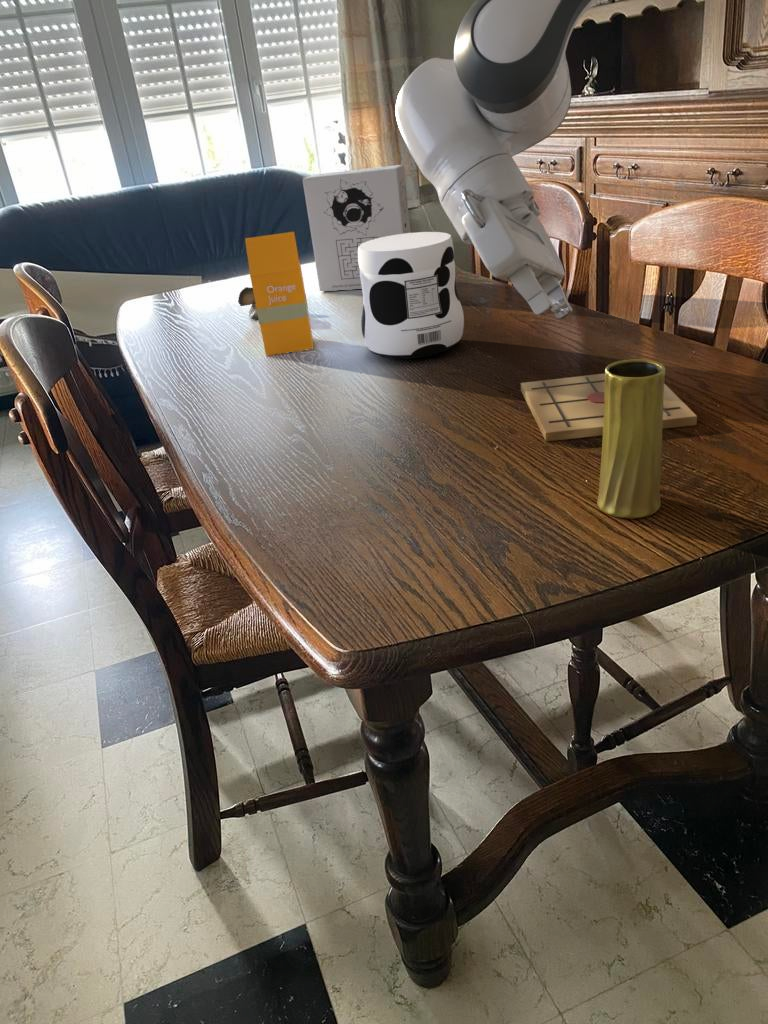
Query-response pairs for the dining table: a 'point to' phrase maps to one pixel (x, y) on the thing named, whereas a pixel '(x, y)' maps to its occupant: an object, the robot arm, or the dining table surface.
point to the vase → (632, 439)
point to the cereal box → (352, 218)
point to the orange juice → (279, 293)
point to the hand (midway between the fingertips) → (556, 314)
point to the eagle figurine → (248, 301)
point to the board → (586, 407)
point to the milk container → (410, 295)
